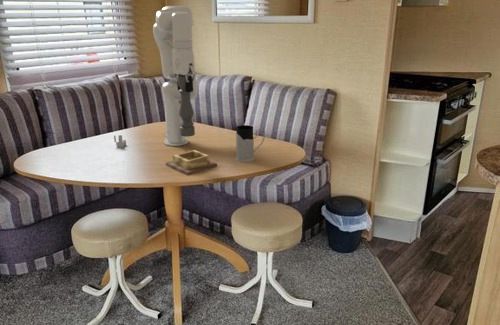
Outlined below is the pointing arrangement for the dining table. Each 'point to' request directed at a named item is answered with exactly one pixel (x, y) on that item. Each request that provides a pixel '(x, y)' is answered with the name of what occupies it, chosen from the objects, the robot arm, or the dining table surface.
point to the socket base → (191, 162)
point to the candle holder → (185, 109)
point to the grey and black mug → (245, 143)
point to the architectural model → (120, 142)
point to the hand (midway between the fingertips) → (185, 90)
